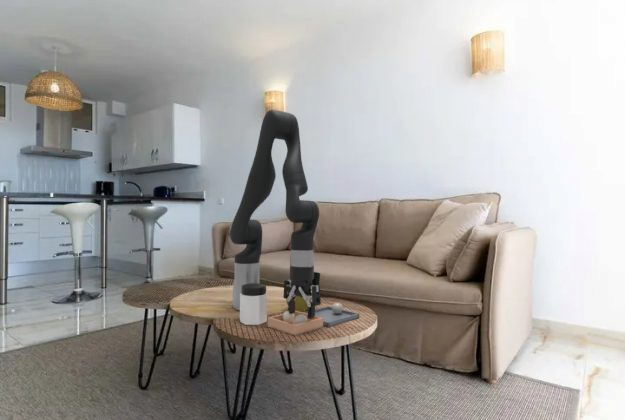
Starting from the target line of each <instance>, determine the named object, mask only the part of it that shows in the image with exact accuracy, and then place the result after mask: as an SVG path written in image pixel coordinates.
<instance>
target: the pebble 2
mask: <svg viewBox="0 0 625 420" xmlns="http://www.w3.org/2000/svg"><path fill="white" fill-rule="evenodd" d="M331 307H332V311H333V313H335V314H340V313H341V312H342V311H343V310H344V307H343V304H342V303H340V302H334V303H333V304H332V306H331Z"/></svg>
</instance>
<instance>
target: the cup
mask: <svg viewBox="0 0 625 420" xmlns="http://www.w3.org/2000/svg"><path fill="white" fill-rule="evenodd" d="M320 280H321V272H318V271H317V272H316V271H314V278H313V280H312V285H314V286H316V285H319V286H320ZM316 301H317V298H316ZM311 303H312V302H311Z"/></svg>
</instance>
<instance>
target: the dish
mask: <svg viewBox="0 0 625 420" xmlns="http://www.w3.org/2000/svg"><path fill="white" fill-rule="evenodd" d="M283 314H284V313H281V314H277V315H273V316H272V315H271V316H267V327H268V328H270V329H273V330H276V331H279V332H281V333H285V334H287V335H290V336H294V337H296V336H299V335H303V334H307V333H310V332H312V331H316V330H319V328H320V329H323V328H324V326H323V318H321V317H318V316H315V317H314V318H313V319H308V314H307V313H303V312H299V311H295V313H294V315H295V318H296V316H297V315H300V314H303V315H305V316H306V318H307V322H304V323H300V324H295V319H294V321H293V322H292V323H287V322H284V321H283Z"/></svg>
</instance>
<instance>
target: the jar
mask: <svg viewBox="0 0 625 420" xmlns="http://www.w3.org/2000/svg"><path fill="white" fill-rule="evenodd" d="M239 322H240V323H242V324H243V325H245V326H260V325H262V324H264V323H268V293H267V285H266V284H263V283H259V284H258V283H251V284H244V285H242V286H241V293H240V310H239Z"/></svg>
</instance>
